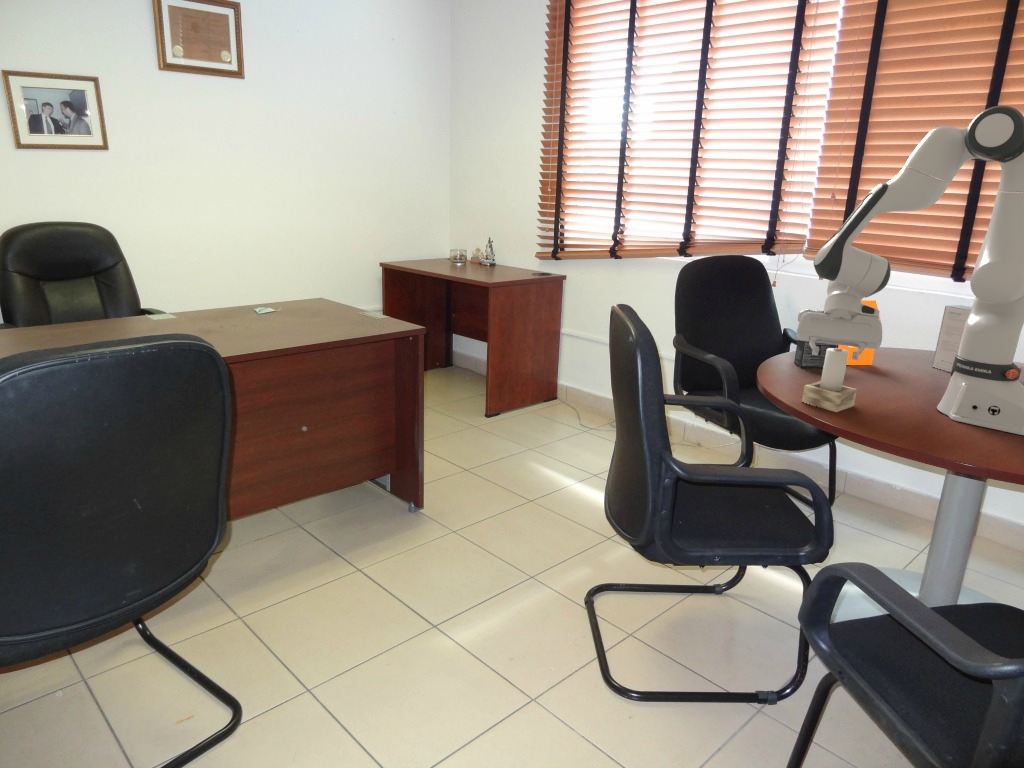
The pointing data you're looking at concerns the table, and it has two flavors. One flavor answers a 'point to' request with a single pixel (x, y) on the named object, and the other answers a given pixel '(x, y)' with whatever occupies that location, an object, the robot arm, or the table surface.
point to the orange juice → (866, 355)
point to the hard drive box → (950, 336)
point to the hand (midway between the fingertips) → (834, 356)
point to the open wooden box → (829, 397)
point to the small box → (805, 354)
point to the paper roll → (834, 369)
